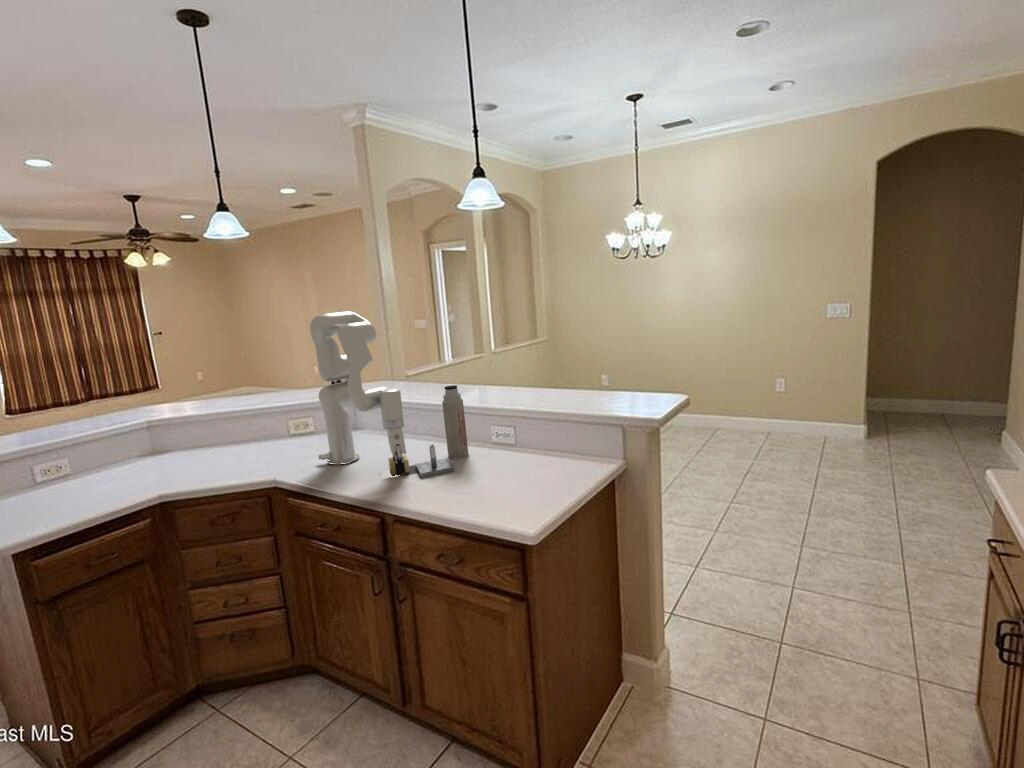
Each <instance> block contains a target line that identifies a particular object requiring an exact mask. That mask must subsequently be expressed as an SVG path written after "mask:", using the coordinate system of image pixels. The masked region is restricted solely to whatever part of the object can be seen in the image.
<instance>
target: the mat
mask: <svg viewBox="0 0 1024 768" xmlns="http://www.w3.org/2000/svg"><path fill="white" fill-rule="evenodd" d="M409 470H410V473H407V474H402V475H400V476H401V477H405V476H406V477H407V476H411V475H416V474H419V473H418V472H417V470H416V466H415V464H414V465H409ZM398 476H399V475H398ZM400 476H399V477H398V478H400Z"/></svg>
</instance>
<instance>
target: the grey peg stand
mask: <svg viewBox="0 0 1024 768" xmlns="http://www.w3.org/2000/svg"><path fill="white" fill-rule="evenodd" d="M428 448H429V457H430V461H423V462H419V463H414V465H415V466H416V470H417V472H418V473H417V474H418V475H419V477H420V478H421V479H425V478H429V477H436V476H440V475H444V474H445V475H446V474H451V473H455V466H454V465H453V464H452V463H451V462H450V460H449V459H448V457H447V458H446V457H445V458H440V459H437V454H436V446H435V445H434V443H430V445H429V447H428Z"/></svg>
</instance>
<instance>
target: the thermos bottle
mask: <svg viewBox="0 0 1024 768" xmlns="http://www.w3.org/2000/svg"><path fill="white" fill-rule="evenodd" d="M444 393H445V394H444V395H443V396H442V398H443V400H442V402H441V403H442V410H443V411H442V412H443V421H444V430H445V438H446V439H445V440H446V447H447V455H448V456H447V458H449V457H450V459H453V458H458V459H463V458H465V456H466V457H468V456H469V447H468V436H467V429H466V427H467V426H466V417H465V408H464V399H463V398H462V396H461V393H460V392H459V390H458V385H455V384H452V385H446V386H444ZM467 455H468V456H467ZM462 457H463V458H462Z"/></svg>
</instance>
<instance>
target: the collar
mask: <svg viewBox="0 0 1024 768" xmlns="http://www.w3.org/2000/svg"><path fill="white" fill-rule="evenodd" d="M396 458H397V457H396ZM387 459H388V460H387V461H388V467H389V469H388V470H390V473H391V475H392V476H395V475H402V474H407V473H410V470H409V466H410V462H409V458H408V456H407V455H406V454H404V455H403V461H404V466H405V473H402V474H396V468H395V463H396V462H395V457H393V456H392V457H388V458H387Z"/></svg>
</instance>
